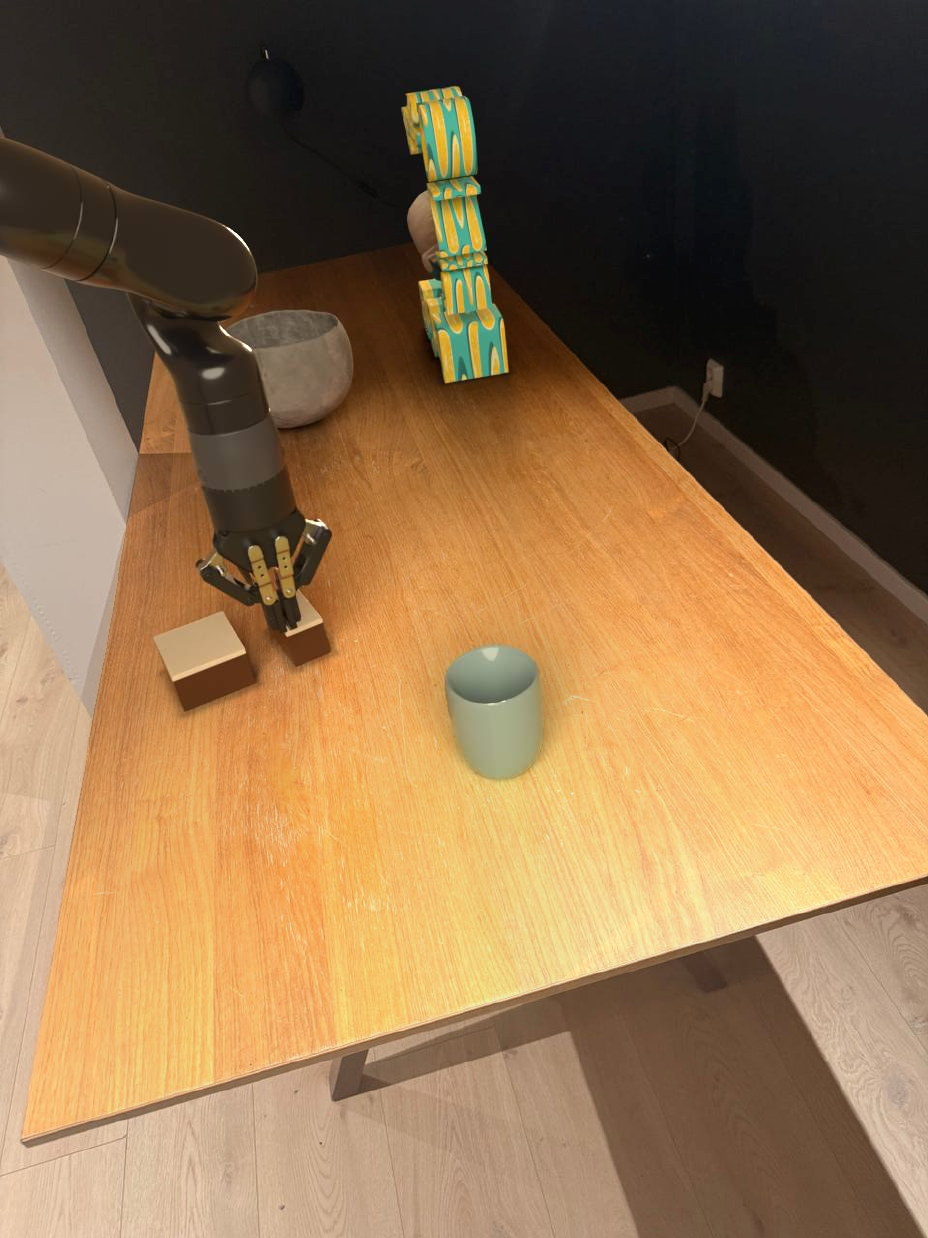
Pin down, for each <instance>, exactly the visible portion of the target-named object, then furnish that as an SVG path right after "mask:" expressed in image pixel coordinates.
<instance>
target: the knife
mask: <svg viewBox="0 0 928 1238" xmlns="http://www.w3.org/2000/svg"><path fill="white" fill-rule="evenodd" d="M236 569H237V570H238V571H239V573H240V575H241V576H242V578H243V580H245V583H246V584H247V585H254V584H253V581H252V578H251V576H250V574H249V573H248V572H246V571H244V570H242V569H241V568H239V567H237V566H236ZM283 617H284V616H283ZM284 620H285V624H286V626H287V627H288V628H289V629H291V630H292V628H291V626H290V625H289V623H288V622H287V620H286V619H285V617H284Z"/></svg>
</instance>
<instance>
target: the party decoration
mask: <svg viewBox="0 0 928 1238" xmlns="http://www.w3.org/2000/svg"><path fill="white" fill-rule="evenodd" d="M405 96H406V106H402V107H401V114H402V120H403V123H404V128H405V133H406V138H407V145H408V149H409V153H410V155H411V156H412V155H417V154H418V155H419V154H422V157H423V163H424V169H425V174H426V178H427V181H428V182H427V183H426V190H425V191H423V192H422V193H420V194H418V196H417V197H416V198H415V199H414V201H413V203H412V204H411V205H410V207H409V208H408V212H407V217H406V222H407V223H406V224H407V226H408V231H409V234H410V236H411V239H412V241H413V243H414V246H415V247H416V249H417V251H418V252H419V255H420V256H421V262H422V264H423V267H424V269H425V270H426V272H427V273H428V274H429V276H431V277H432V278H433V279H426V280H419V281H418V290H419V297H420V303H421V304H420V305H421V310H422V319H423V325H424V330H425V332H426V334H427V337H428V340H430V343H431V344H430V345H431V348H432V351H433V353H434V357H435V358H439V361H440V366H441V374H442V379H443V381H444V384H449V383H454V382H461V381H465V380H472V379H479V378H484V377H485V378H486V377H490V376H495V375H501V374H507V373H509V363H508V362H509V360H508V351H507V340H506V329H505V323H504V317H503V315H502V314H501V312H500V311H499V309H498V307H497V305H496V303H493V300H492V293H491V283H490V275H489V269H488V266H487V265H488V264H489V262H488V256H487V255H486V253H485V252H486V251H487V242H486V237H485V236H486V235H485V232H484V227H483V221H482V217H481V216H482V215H481V212H480V208H479V202H478V198H477V195H481V194H482V189H481V185H480V184H479V183H478V181H477V180H476V179H475V177H474V175H477V174H478V151H477V141H476V140H477V139H476V132H475V123H474V117H473V112H472V106H471V101H470V99H469V98H468V97H466V96H465V95H463V94H462V91H461V88H460V87H459V86H457V85H455V86H449V87H448V86H447V87H442V88H434V89H429V90H421V91H415V92H408V93H405ZM425 325H426V326H425ZM426 328H427V329H426ZM427 331H428V332H427Z"/></svg>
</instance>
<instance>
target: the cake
mask: <svg viewBox="0 0 928 1238" xmlns="http://www.w3.org/2000/svg"><path fill="white" fill-rule="evenodd" d="M152 638H153V641H154V644H155V647H156V649H157V652H158V654H159V657H160V659H161V661H162V664H163V667H164V669H165V672H166V674H167V677H168V679H169V681H170V683H171V685H172V687H173V690H174V693H175V695H176V697H177V699H178V701H179V703H180V705H181V708H182V710H183V712H188V711H191V710H193V709H195V708H198V707H200V706H202V705H205V704H208V703H210V702H212V701H215V700H217V699H220V698H222V697H225V696H227V695H230V694H232V693H235V692H238V691H240V690H242V689H246V688H248V687H250V686H252V685H255V684H256V683H257V682H256V678H255V675H254V673H253V670H252V667H251V663H250V659H249V657H248V653H247V651H246V648H245V646H244V645H243V643H242V641H241V640H240V638H239V637H238V634H237V633H236V631H235V629H234V628H233V626H232V625H231V622H230V621H229V619H228V617H227V615H226V614H225V613H224V611H223V610H220V611H219V612H216V613H213V614H210V615H208V616H205V617H202V618H200V619H196V620H194V621H191V622H189V623H187V624H183V625H181V626H178V627H175V628H173V629H170V630H167V631H164V632H162V633H160V634H157V635H154V636H152Z"/></svg>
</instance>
